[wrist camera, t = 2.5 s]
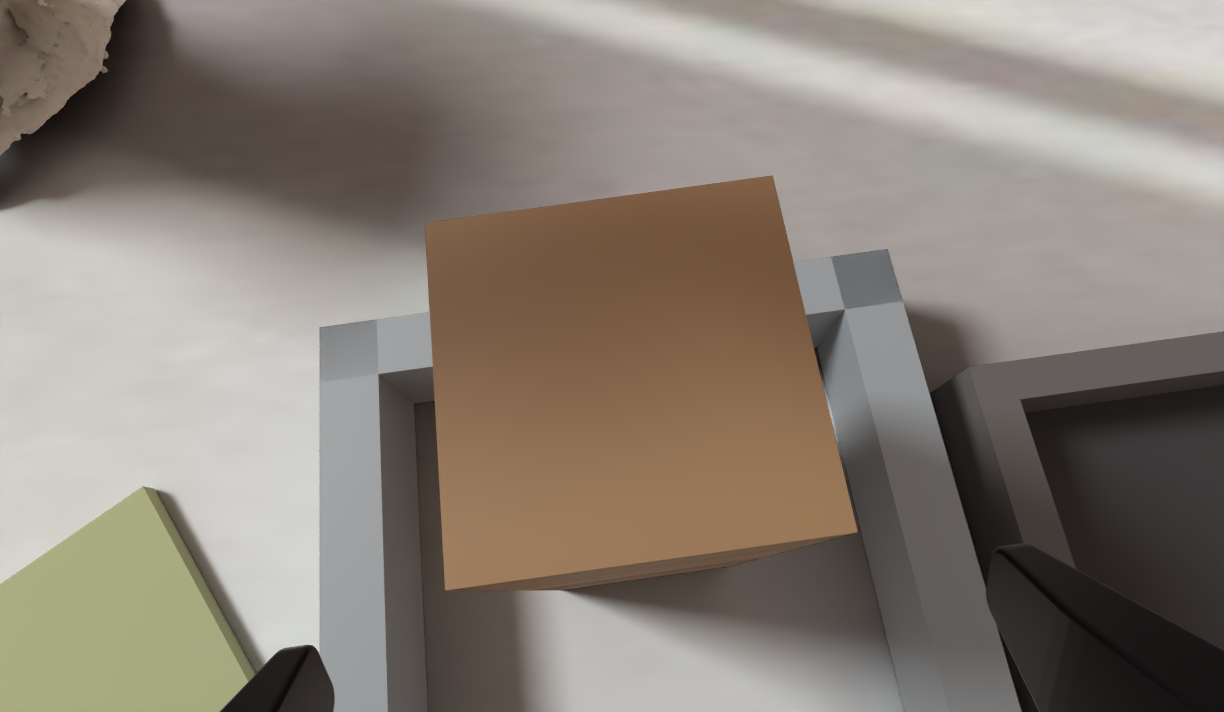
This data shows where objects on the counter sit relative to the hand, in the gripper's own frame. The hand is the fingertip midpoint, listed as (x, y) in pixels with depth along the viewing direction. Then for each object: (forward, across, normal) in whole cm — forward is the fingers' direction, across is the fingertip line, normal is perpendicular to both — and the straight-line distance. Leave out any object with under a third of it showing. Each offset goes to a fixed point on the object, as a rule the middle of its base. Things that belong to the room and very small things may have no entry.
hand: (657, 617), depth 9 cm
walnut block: (+9, 0, +5) cm, 10 cm away
